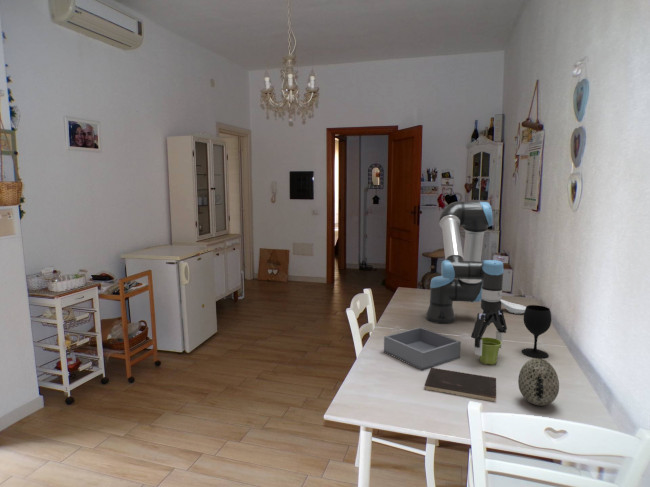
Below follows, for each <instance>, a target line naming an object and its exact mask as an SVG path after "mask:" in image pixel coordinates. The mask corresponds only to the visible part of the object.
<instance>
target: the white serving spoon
mask: <svg viewBox="0 0 650 487" xmlns="http://www.w3.org/2000/svg"><path fill="white" fill-rule="evenodd" d="M500 301H501V302H502V303H501V306H503V308H505V309H506V311H507V312H509V313H510V314H513V313H514V314H513V315H522V314H524V312H525V309H526V307H527V306H525V305H523V304H518V303H513V302H510V301H507V300H505V299H501V300H500Z"/></svg>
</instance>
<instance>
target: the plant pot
mask: <svg viewBox="0 0 650 487" xmlns="http://www.w3.org/2000/svg"><path fill="white" fill-rule="evenodd" d="M481 339H482V356H479V361H480V363H482V364H484V365H490V366H492V365H496V363H497V361H498V356H499V350H500V345H501V344H502V345H503V342H501V341H499V340H497V339H496V338H494V337H483V336H482V338H481Z"/></svg>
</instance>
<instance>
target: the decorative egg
mask: <svg viewBox="0 0 650 487" xmlns="http://www.w3.org/2000/svg"><path fill="white" fill-rule="evenodd" d="M517 383H518V388H519V391H520V394H521V396H523V398H524V399H525V400H526V401H527V402H529V403H530V404H532V405H535V406H538V407H539V406H540V407H541V406H543V407H544V406H548V405H550V404H552V403H553V402H554V401H555V400H556V399H557V397H558V395H559V391H560V381H559V376H558V374H557V371H556V369H555V368H554V367H553V365H552V364H551V363H550V362H549V361H547V360H546V359H544V358H543V359H540V358H531V359H529V360H527V361H526V362H525V363H524V364H523V365H522V367H521V369H520V370H519V374H518V382H517Z"/></svg>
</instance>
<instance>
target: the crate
mask: <svg viewBox="0 0 650 487" xmlns="http://www.w3.org/2000/svg"><path fill="white" fill-rule="evenodd" d="M461 343H462V342H461V341H460V340H457V339H455V338H452V337H449V336H446V335H443V334H441V333H437V332H435V331H432V330H430V329H426V328H424V327H421V326H418V327H415V328H412V329H408V330H404V331H401V332H397V333H396V332H395V333H393V334H388V335H386V336H384V338H383V353H384V352H386V353H385V354H387V353H388V354H387V355H389V354H390V355H389V356H391V355H393V356H395V357H397V358H399V359H401V360H403V361H405V362H404V363H406V362H407V363H406V364H408V363H409V364H408V365H410V364H411V365H410V366H412V365H413V367H414V366H415V367H414V368H416V367H417V369H418V368H419V369H418V370H420V369H421V371H426V370H429V369H431V368H436V367H437V366H440V365H443V364H446V363H448V362H452V361H455V360H458V359H460V358H461ZM393 356H392V357H393ZM395 357H394V358H395ZM397 358H396V359H397ZM399 359H398V360H399ZM401 360H400V361H401ZM403 361H402V362H403Z"/></svg>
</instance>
